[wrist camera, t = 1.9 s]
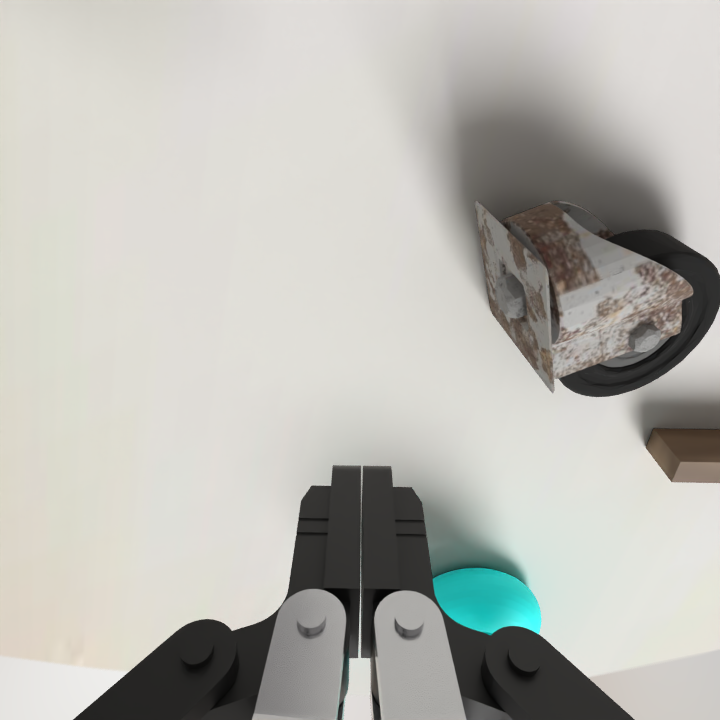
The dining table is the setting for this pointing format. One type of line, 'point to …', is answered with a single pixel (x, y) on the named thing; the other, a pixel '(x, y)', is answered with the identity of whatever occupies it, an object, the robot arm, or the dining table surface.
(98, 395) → the dining table surface
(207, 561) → the dining table surface
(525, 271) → the caster wheel
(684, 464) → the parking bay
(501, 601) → the donuts
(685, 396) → the dining table surface
